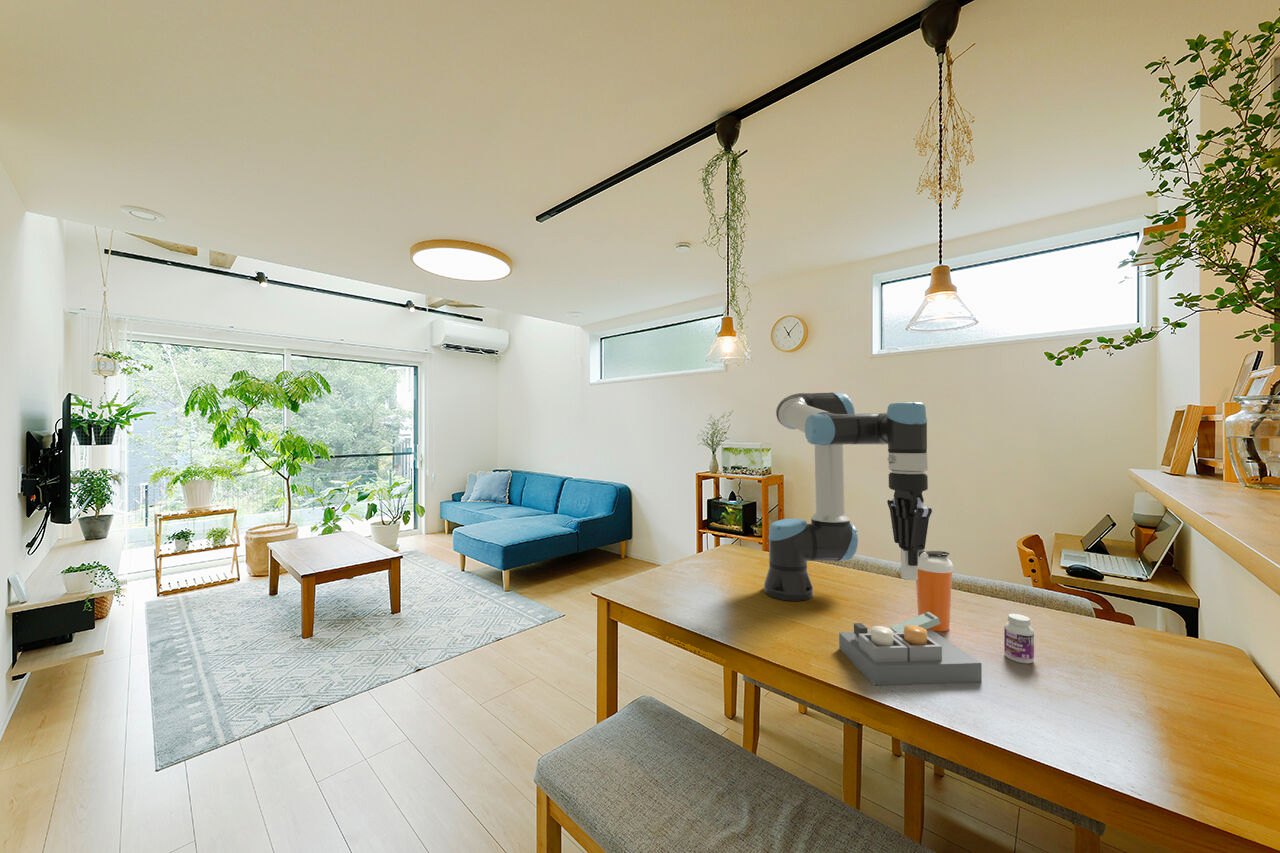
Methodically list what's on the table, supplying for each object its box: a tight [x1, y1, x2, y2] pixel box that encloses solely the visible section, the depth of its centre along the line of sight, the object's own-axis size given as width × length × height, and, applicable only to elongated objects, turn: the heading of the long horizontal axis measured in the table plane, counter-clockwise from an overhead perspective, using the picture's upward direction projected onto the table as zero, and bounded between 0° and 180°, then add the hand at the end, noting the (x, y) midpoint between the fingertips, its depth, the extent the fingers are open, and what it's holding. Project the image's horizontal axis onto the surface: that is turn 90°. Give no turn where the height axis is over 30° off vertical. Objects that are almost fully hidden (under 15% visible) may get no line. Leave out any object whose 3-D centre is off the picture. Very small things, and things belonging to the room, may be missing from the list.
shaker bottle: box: [915, 549, 954, 632], centre depth 126 cm, size 9×9×20 cm
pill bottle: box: [1003, 613, 1035, 664], centre depth 109 cm, size 5×5×10 cm
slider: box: [853, 622, 869, 637], centre depth 110 cm, size 3×2×2 cm, turn 2°
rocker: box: [889, 612, 940, 633], centre depth 110 cm, size 4×10×2 cm, turn 92°
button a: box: [870, 625, 894, 646], centre depth 103 cm, size 4×4×3 cm
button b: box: [904, 625, 928, 645], centre depth 103 cm, size 4×4×3 cm
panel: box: [838, 629, 983, 686], centre depth 106 cm, size 16×23×7 cm
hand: (909, 578), depth 104 cm, fingers closed
